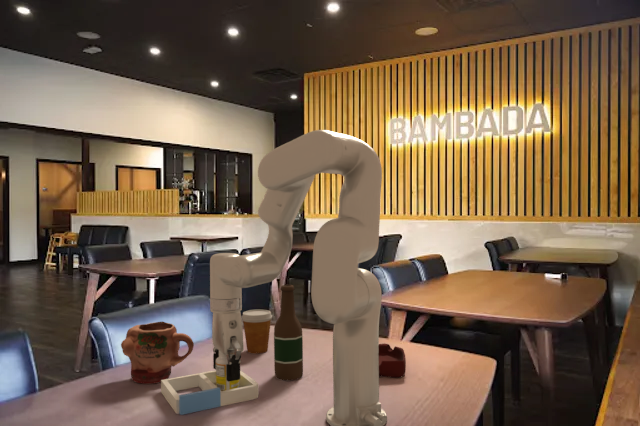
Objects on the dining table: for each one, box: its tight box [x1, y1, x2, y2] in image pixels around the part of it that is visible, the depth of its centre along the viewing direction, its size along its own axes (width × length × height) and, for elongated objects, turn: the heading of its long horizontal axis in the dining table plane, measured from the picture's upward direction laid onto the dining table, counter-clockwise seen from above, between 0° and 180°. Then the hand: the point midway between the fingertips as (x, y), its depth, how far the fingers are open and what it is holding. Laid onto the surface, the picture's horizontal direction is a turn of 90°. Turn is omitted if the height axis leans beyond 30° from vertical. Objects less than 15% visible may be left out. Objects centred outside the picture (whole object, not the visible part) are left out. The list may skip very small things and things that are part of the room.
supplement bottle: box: [215, 350, 240, 391], centre depth 123 cm, size 6×6×10 cm
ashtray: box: [378, 342, 407, 379], centre depth 137 cm, size 18×16×5 cm
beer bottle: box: [273, 284, 304, 382], centre depth 133 cm, size 8×8×24 cm
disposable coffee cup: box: [241, 309, 273, 355], centre depth 157 cm, size 10×10×12 cm
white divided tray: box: [160, 369, 259, 416], centre depth 121 cm, size 16×19×4 cm
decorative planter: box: [120, 321, 195, 385], centre depth 133 cm, size 20×12×14 cm, turn 86°
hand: (226, 374), depth 123 cm, fingers open, 9 cm apart
